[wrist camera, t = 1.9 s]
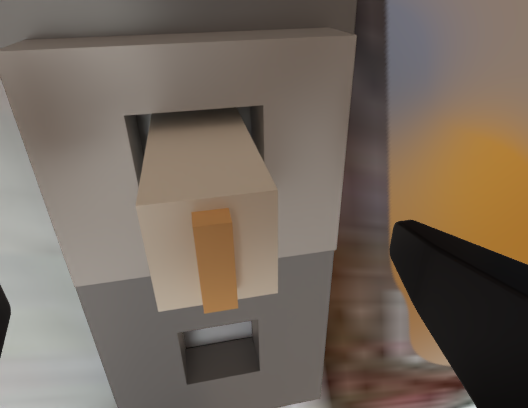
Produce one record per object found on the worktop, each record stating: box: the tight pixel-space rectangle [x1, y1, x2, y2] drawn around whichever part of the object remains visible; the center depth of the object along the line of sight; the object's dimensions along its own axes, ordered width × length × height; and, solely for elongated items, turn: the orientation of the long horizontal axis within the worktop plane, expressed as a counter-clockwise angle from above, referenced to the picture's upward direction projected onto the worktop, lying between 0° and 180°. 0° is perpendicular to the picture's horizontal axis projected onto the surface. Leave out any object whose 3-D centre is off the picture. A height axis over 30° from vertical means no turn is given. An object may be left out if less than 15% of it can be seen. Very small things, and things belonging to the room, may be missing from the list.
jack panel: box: [0, 0, 357, 408], centre depth 18 cm, size 24×12×5 cm, turn 1°
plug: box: [136, 107, 278, 314], centre depth 12 cm, size 3×3×8 cm
